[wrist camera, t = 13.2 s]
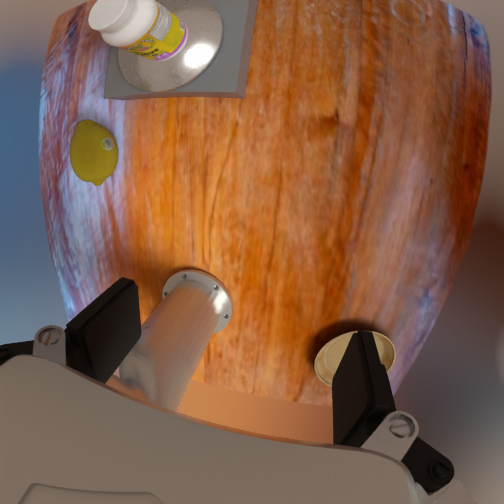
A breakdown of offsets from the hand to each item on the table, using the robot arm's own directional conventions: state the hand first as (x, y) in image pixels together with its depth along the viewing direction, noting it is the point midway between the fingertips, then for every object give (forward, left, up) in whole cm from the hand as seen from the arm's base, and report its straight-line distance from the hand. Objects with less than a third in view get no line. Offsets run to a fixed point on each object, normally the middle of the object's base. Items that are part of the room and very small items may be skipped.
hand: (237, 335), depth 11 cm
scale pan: (+5, +26, -24) cm, 36 cm away
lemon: (-15, +26, -30) cm, 42 cm away
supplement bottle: (+5, +26, -24) cm, 36 cm away
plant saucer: (-9, -29, -30) cm, 43 cm away
